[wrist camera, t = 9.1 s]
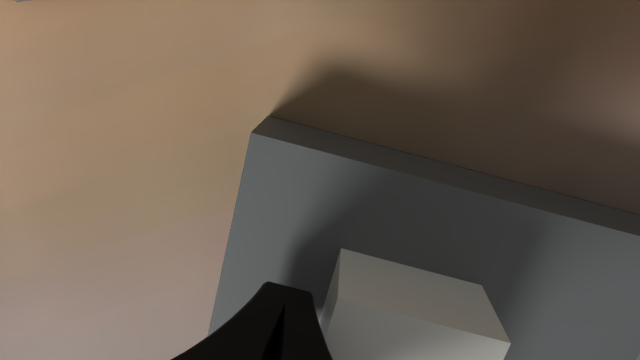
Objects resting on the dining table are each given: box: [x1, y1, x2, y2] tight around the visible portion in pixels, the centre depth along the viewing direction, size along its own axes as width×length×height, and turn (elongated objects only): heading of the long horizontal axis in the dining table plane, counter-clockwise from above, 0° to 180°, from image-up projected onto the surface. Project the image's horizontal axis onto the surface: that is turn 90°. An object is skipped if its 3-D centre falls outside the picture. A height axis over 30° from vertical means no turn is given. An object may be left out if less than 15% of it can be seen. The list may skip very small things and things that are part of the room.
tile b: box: [319, 248, 511, 360], centre depth 12 cm, size 4×4×2 cm
